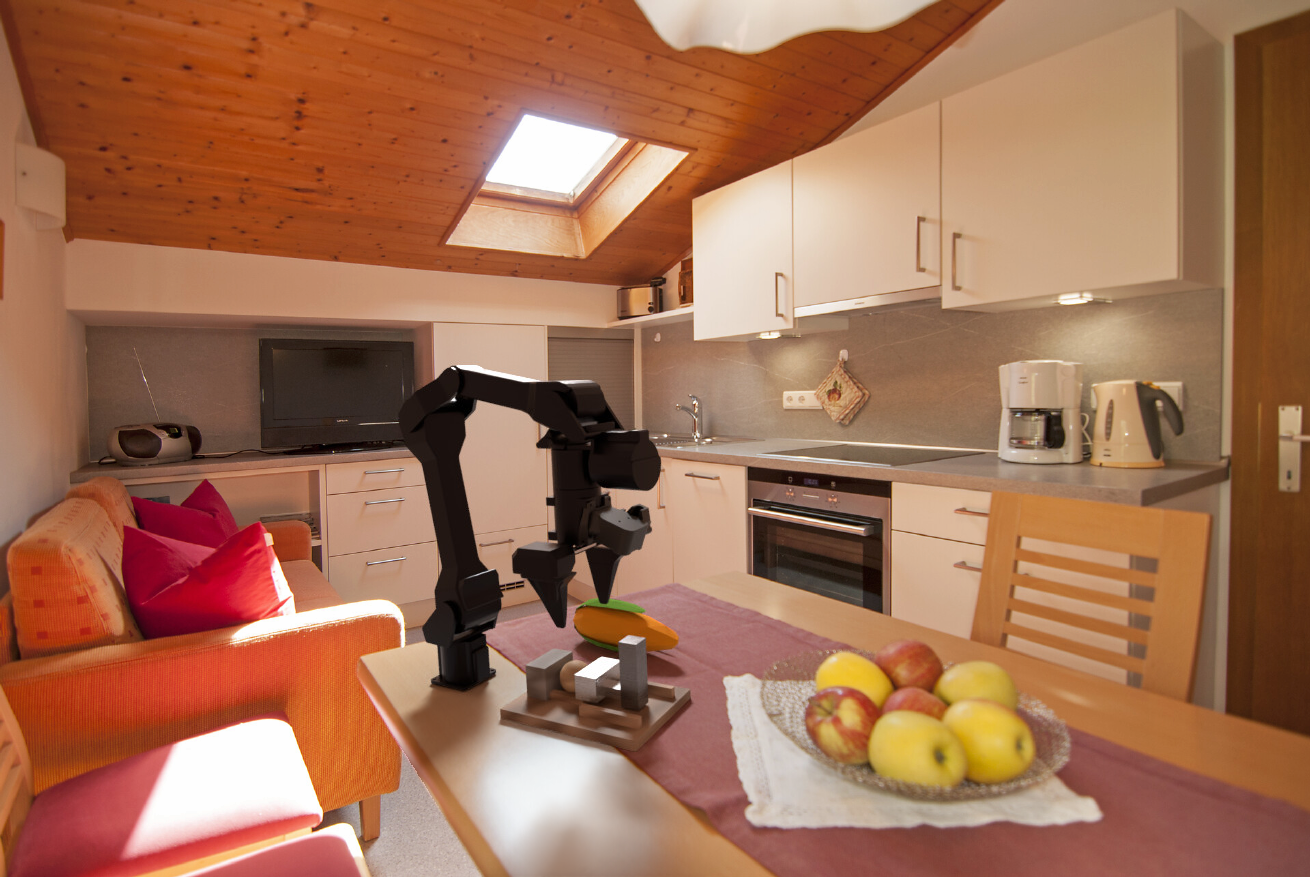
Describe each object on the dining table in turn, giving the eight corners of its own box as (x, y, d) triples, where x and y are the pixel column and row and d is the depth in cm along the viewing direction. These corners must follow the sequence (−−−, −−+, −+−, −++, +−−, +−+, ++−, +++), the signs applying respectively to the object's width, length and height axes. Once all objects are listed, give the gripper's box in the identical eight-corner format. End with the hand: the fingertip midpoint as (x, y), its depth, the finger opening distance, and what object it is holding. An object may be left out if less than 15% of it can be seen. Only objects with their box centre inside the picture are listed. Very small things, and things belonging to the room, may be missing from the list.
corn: (592, 584, 114) (693, 604, 102) (596, 628, 115) (697, 653, 103) (559, 599, 109) (662, 622, 96) (564, 646, 110) (667, 674, 97)
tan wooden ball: (554, 695, 88) (552, 664, 87) (572, 683, 91) (570, 653, 91) (580, 701, 86) (579, 669, 86) (598, 688, 89) (596, 657, 89)
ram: (576, 705, 85) (572, 640, 84) (602, 685, 90) (599, 624, 90) (631, 717, 81) (628, 650, 81) (655, 695, 87) (652, 632, 86)
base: (500, 718, 86) (498, 676, 85) (567, 673, 98) (565, 636, 97) (636, 751, 77) (633, 704, 76) (690, 698, 89) (689, 657, 88)
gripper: (590, 503, 71) (597, 652, 72) (673, 477, 87) (678, 599, 89) (504, 498, 76) (513, 638, 78) (597, 474, 93) (603, 590, 94)
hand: (583, 614), depth 84 cm, fingers open, 9 cm apart
